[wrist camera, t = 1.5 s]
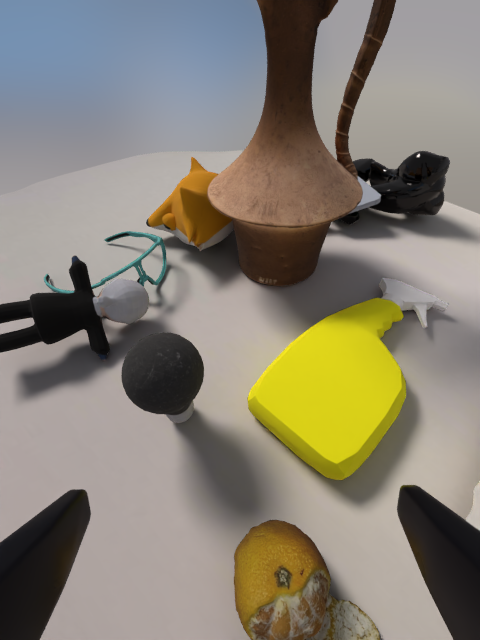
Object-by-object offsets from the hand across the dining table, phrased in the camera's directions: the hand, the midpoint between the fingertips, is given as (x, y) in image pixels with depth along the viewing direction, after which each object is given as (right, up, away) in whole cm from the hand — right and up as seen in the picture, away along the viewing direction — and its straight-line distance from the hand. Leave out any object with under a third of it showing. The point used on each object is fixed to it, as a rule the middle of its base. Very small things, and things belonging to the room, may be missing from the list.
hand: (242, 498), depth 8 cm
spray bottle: (+12, +1, +21) cm, 24 cm away
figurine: (-24, +4, +18) cm, 30 cm away
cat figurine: (+21, +24, +41) cm, 52 cm away
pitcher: (+5, +13, +32) cm, 35 cm away
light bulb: (-5, -3, +18) cm, 19 cm away
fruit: (+3, -13, +9) cm, 16 cm away
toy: (-4, +18, +37) cm, 41 cm away
